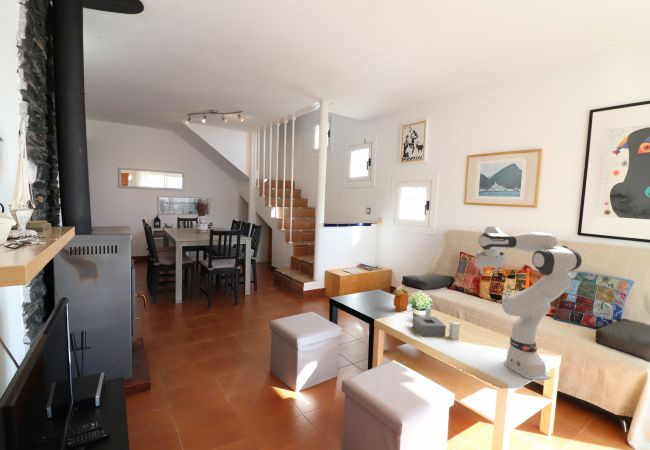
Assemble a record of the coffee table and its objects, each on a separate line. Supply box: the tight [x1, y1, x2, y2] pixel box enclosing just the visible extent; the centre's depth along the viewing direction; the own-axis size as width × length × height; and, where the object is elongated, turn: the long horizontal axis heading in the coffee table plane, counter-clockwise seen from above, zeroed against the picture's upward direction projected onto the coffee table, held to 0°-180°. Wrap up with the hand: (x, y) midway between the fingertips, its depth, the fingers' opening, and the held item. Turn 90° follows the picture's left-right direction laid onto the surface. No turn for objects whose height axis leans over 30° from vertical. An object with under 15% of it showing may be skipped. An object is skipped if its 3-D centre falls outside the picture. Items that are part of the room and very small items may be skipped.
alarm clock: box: [393, 285, 410, 313], centre depth 261 cm, size 13×6×20 cm, turn 133°
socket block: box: [412, 316, 447, 337], centre depth 221 cm, size 16×16×7 cm
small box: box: [425, 306, 432, 317], centre depth 240 cm, size 8×6×10 cm
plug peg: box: [448, 320, 461, 340], centre depth 212 cm, size 4×4×11 cm
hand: (488, 273), depth 207 cm, fingers open, 8 cm apart
